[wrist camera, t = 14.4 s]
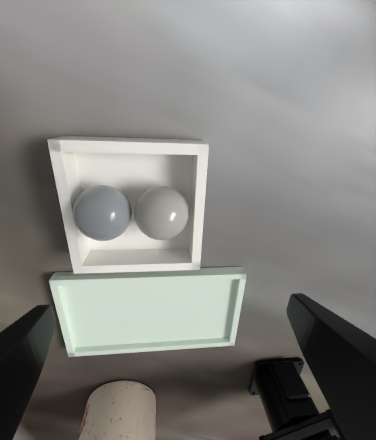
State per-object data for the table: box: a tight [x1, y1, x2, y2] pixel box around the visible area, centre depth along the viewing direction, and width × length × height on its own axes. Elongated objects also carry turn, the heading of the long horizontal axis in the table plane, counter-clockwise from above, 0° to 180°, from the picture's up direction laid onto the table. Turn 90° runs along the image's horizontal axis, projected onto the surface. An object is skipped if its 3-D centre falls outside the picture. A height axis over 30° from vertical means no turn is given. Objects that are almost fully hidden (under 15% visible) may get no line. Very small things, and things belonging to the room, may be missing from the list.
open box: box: [47, 136, 209, 274], centre depth 18 cm, size 10×10×3 cm
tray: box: [49, 267, 247, 357], centre depth 24 cm, size 10×18×1 cm, turn 88°
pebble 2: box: [134, 186, 189, 240], centre depth 17 cm, size 4×4×4 cm
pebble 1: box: [72, 185, 132, 241], centre depth 17 cm, size 4×4×4 cm
